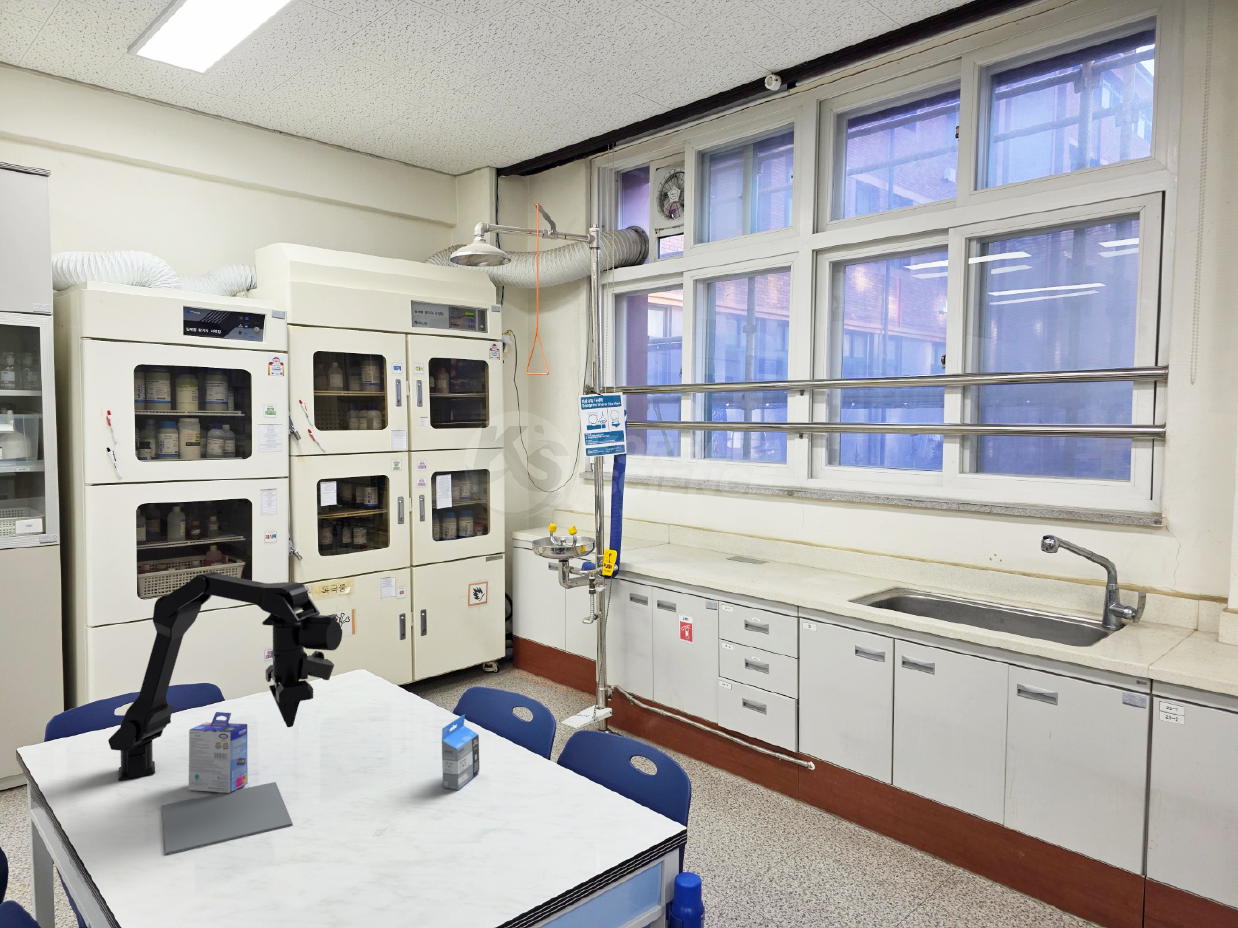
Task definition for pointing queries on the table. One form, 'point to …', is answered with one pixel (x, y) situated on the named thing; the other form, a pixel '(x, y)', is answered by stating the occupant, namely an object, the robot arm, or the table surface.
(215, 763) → the ink cartridge box
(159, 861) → the table surface
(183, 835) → the charcoal mat
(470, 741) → the label tape box
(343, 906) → the table surface
